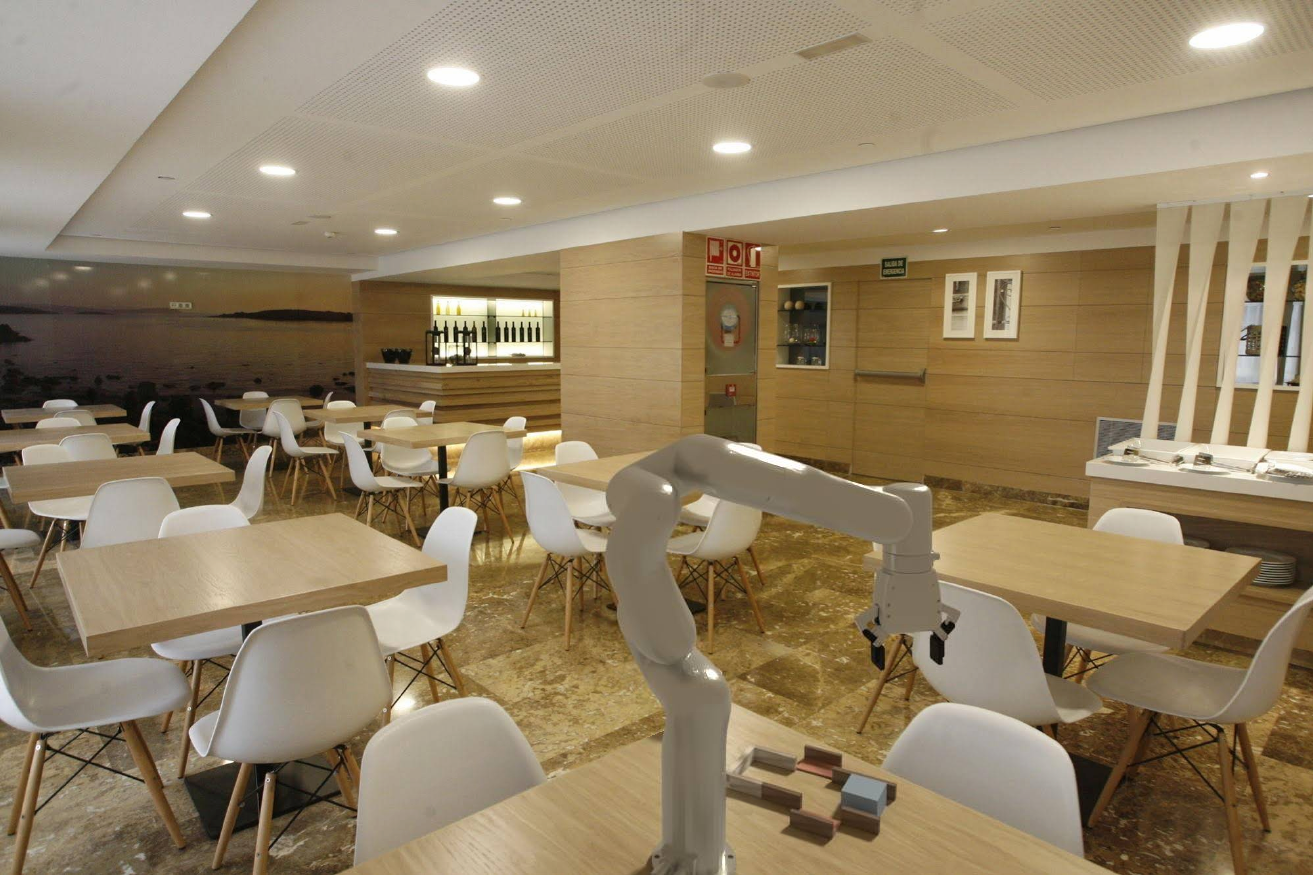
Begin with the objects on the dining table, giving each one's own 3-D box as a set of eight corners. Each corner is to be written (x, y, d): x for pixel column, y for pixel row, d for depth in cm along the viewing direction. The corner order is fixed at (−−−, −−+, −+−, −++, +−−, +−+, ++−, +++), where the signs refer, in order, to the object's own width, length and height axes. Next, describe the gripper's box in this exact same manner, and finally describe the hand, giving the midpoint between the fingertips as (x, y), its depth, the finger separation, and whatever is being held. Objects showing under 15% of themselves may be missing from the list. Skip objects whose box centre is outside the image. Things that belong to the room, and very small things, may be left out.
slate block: (876, 824, 123) (877, 801, 123) (840, 813, 126) (841, 790, 126) (886, 805, 129) (886, 783, 128) (851, 795, 132) (851, 773, 131)
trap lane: (870, 851, 116) (870, 836, 116) (712, 800, 130) (712, 786, 130) (902, 783, 135) (903, 770, 134) (761, 745, 148) (761, 732, 148)
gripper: (947, 551, 125) (947, 650, 127) (846, 558, 123) (847, 660, 125) (971, 563, 117) (970, 669, 119) (863, 572, 116) (865, 679, 118)
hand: (907, 664), depth 122 cm, fingers open, 9 cm apart
